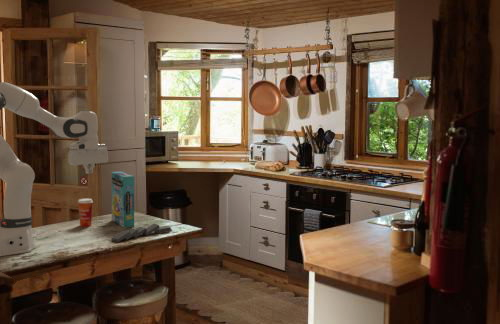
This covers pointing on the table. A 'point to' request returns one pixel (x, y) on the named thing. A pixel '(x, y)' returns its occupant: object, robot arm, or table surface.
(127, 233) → the dark grey rectangular block
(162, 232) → the end tile
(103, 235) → the table surface
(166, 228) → the tile
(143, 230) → the tile
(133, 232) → the tile
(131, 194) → the game box
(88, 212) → the paper cup
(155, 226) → the tile
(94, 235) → the table surface
